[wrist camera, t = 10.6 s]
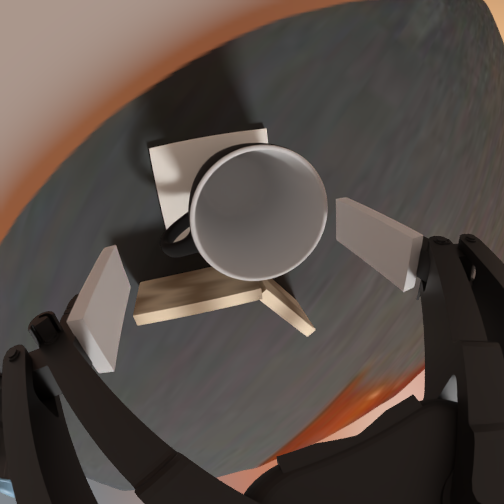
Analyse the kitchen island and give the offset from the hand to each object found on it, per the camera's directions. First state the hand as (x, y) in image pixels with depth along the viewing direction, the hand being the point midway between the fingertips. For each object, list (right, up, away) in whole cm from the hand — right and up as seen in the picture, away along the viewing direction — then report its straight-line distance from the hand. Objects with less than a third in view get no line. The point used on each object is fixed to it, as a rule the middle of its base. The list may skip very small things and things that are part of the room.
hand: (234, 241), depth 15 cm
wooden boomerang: (-2, -6, +16) cm, 17 cm away
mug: (-2, +5, +10) cm, 12 cm away
